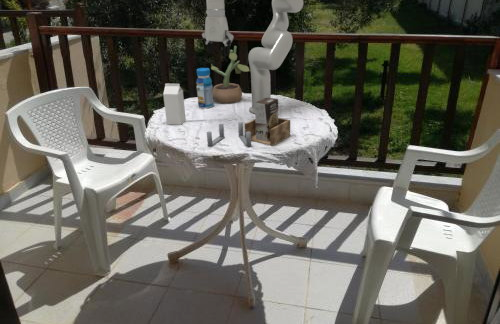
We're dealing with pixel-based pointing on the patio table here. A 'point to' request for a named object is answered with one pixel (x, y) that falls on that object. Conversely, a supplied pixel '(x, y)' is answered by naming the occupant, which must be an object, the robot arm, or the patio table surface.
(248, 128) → the wooden tray
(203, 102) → the beverage bottle
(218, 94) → the potted plant
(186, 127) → the patio table surface
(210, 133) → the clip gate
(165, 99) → the milk carton
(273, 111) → the coffee box
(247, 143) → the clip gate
